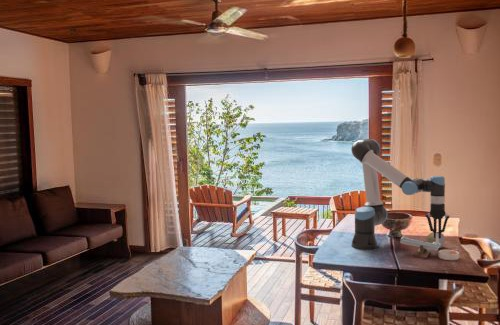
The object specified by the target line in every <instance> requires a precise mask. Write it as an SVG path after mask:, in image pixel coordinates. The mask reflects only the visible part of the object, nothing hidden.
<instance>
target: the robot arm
mask: <svg viewBox="0 0 500 325" xmlns="http://www.w3.org/2000/svg"><path fill="white" fill-rule="evenodd" d="M380 153H381V145H380V144H379V142H378V141H377V140H375V139H372V138H366V139H358V140H356V141H355V142H353V144H352V145H351V154H352V156H353V157H354V158H355V159H356V160H358V161H359V162H360V164H362V174H363V181H364V182H363V183H364V191H365V201H366V202H364V204H363V205H364V206H360V207H357V208H356V209H355V211H354V235H353V237H352V240H351V246H352V248H356V249H359V250H375V249H377V248H378V240H377V237H376V234H375V227H377V226H379V225H382V224H383V223H385V222H386V220H387V219H388V211H387V209H386V207H385V206H384V202H383V201H382V200H381V193H380V185H379V176H378V173H379V175H382V176H383V177H384V178H386V179H387V180H389V181H390V182H392V183H393V184H394V185H396V186H397V187H398V188H400V189H401V190H402V191H401V192H402V193H403V194H404V195H406V196H411V195H413V196H414V195H416V194H418V193H423V192H424V193H430V201H429V202H430V206H429V207H430V211H429V212H428V213H426V214H425V217H426V219H427V223H428V226H429V230H430V232H431V233H432V232H434V238H436V244H439V238H441V233H442V234H443V233H444V232H445V231H446V226H447V223H448V220H449V218H450V217H451V215H448V214H447V213H446V205H445V203H446V202H445V201H446V197H445V196H446V194H445V193H446V190H445V189H446V183H445V177H444V176H443V175H431V176H430V178H418V177H416V178H415V177H413V178H410V177H409V176H407V175H406V174H404V173H403V172H401V171H400V170H399V169H398V168H396V167H394V166H393V165H391V164H390V163H388V162H387V161H386V160H385V159H383V158H381V157H380V156H379V154H380ZM431 218H432V219H433V223H432V220H431ZM443 218H444V222H443V226H442V219H443ZM437 221H438V225H437ZM437 226H438V230H437Z"/></svg>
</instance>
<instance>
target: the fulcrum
mask: <svg viewBox="0 0 500 325" xmlns="http://www.w3.org/2000/svg"><path fill="white" fill-rule="evenodd" d="M422 241H423V242H427V240H422ZM430 253H431V250H430V249H426V248H423V245H420V247H419V248H418V250H417V251H416V252H415V257H418V258H424V259H425V258H426V259H427V258H428V257H429V255H430Z"/></svg>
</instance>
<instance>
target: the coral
mask: <svg viewBox="0 0 500 325" xmlns="http://www.w3.org/2000/svg"><path fill="white" fill-rule="evenodd" d="M426 242H428V243H432V244H433V242H435V243H436V238H434V232H432V231H431V232H430V233H429V234H427V235H426ZM439 243H440V244H441V245H440V247H439V249H441V248H444V245H445V243H446V236H444V234H443V232H442V233H441V238H439Z"/></svg>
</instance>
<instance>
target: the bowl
mask: <svg viewBox="0 0 500 325" xmlns="http://www.w3.org/2000/svg"><path fill="white" fill-rule="evenodd" d="M451 251H455V252H456V254H452V255H450V252H451ZM437 252H438V253H437V254H438V255H437V256H438V258H440V259H442V260H444V261H445V260H446V261H458V260H459V258H460V252H458V251H457V250H453V249H440V250H439V249H438V251H437Z"/></svg>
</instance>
